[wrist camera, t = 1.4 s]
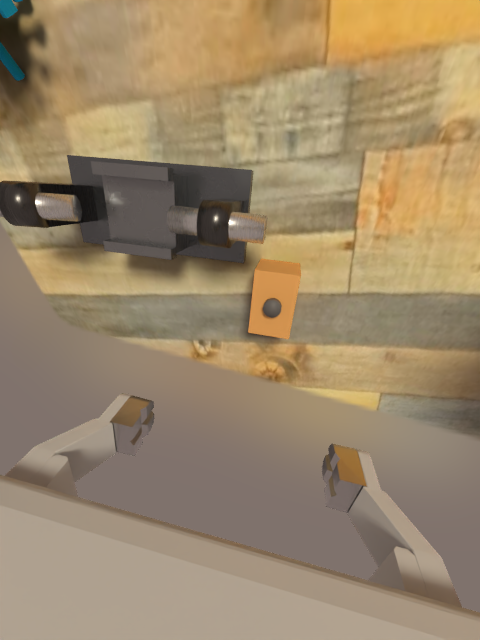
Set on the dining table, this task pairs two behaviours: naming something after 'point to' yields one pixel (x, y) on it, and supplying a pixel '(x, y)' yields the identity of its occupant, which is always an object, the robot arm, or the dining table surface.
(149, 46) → the dining table surface
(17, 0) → the gear
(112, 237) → the shaft stand
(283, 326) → the block
